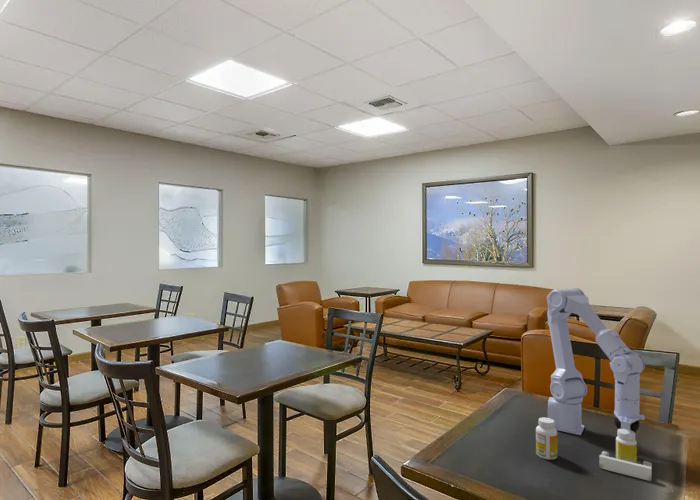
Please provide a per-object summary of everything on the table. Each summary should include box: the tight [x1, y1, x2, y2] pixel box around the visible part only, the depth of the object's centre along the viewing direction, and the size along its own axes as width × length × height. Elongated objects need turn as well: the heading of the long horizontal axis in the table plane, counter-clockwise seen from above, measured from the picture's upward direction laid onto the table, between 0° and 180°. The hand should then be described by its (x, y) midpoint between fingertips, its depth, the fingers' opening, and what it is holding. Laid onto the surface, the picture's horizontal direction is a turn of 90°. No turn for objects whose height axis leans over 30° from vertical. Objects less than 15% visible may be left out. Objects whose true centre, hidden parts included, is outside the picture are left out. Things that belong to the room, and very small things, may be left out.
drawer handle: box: [598, 450, 653, 482], centre depth 110 cm, size 11×8×3 cm
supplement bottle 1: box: [535, 417, 558, 460], centre depth 117 cm, size 5×5×10 cm
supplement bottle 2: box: [615, 428, 638, 464], centre depth 113 cm, size 5×5×8 cm
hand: (626, 446), depth 117 cm, fingers closed
